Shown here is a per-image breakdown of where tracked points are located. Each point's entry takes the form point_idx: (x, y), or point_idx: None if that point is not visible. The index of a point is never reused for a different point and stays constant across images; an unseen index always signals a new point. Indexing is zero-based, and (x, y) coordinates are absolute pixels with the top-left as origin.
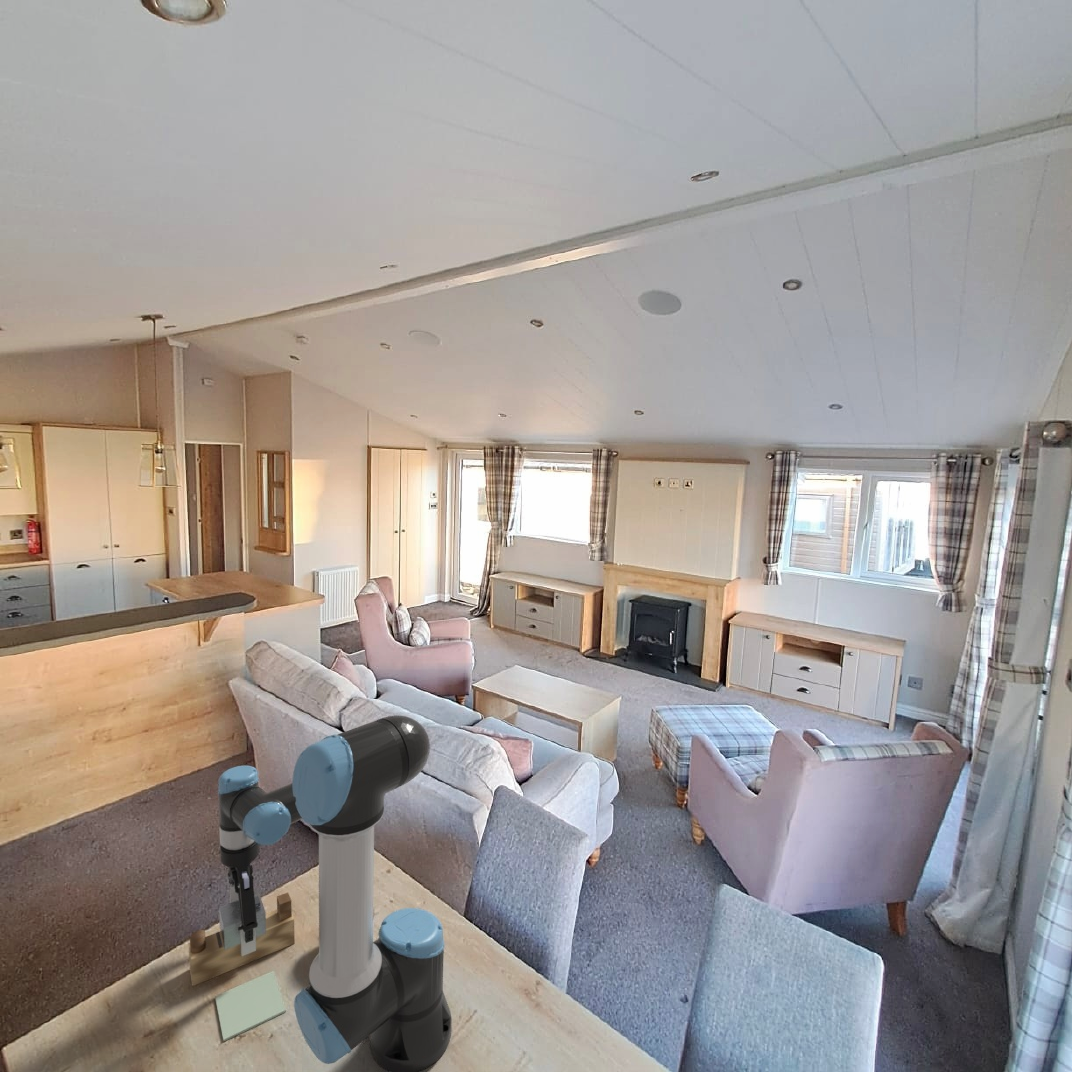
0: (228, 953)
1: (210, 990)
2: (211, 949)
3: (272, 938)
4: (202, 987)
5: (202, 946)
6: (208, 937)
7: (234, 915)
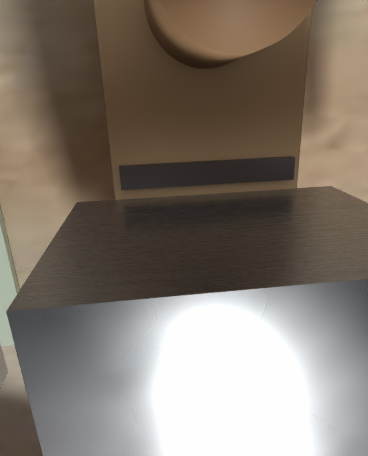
0: None
1: (39, 87)
2: (132, 109)
3: None
4: (78, 50)
5: (155, 28)
6: (283, 98)
7: (207, 423)
